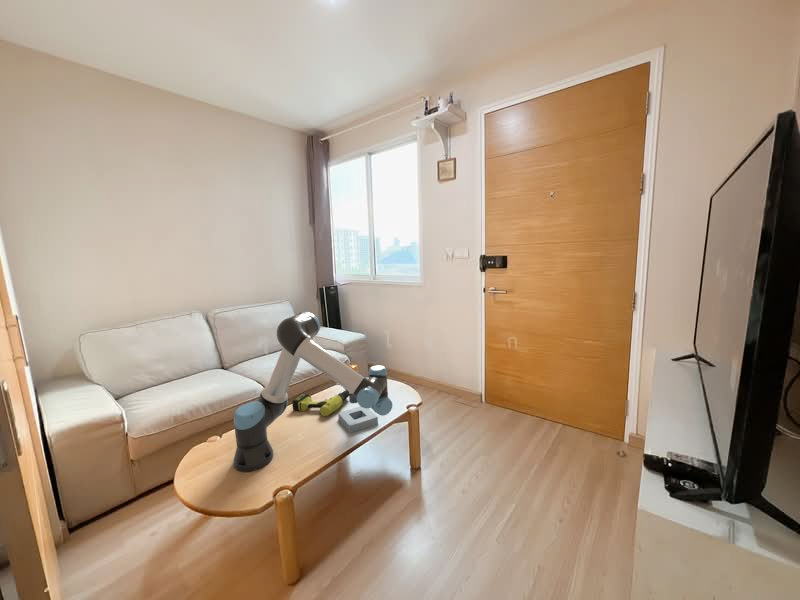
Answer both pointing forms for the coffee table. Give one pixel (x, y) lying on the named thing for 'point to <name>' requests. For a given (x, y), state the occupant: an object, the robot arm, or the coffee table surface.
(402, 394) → the coffee table surface
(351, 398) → the chuck key rod
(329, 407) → the cordless drill
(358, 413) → the slate holder
